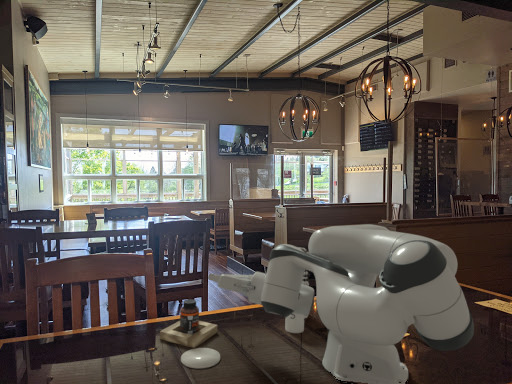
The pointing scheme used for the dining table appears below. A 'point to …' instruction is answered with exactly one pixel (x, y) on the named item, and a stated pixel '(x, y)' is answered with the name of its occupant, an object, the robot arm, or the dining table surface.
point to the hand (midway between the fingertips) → (214, 276)
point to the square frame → (185, 339)
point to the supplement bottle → (189, 317)
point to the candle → (294, 323)
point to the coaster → (200, 358)
